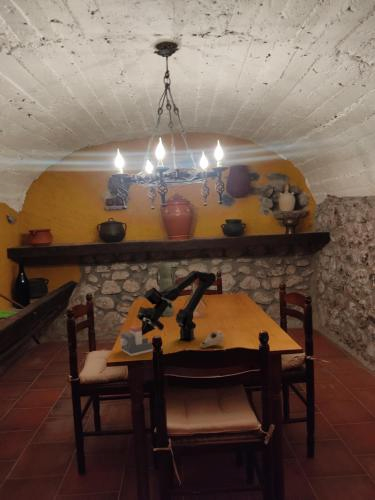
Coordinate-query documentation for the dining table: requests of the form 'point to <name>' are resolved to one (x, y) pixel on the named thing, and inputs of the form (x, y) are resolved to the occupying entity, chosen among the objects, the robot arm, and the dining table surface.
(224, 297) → the dining table surface
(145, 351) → the board
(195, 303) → the robot arm
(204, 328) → the dining table surface
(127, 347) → the grey toy building
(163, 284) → the thermos
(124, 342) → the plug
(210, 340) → the pottery oil lamp
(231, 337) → the dining table surface
